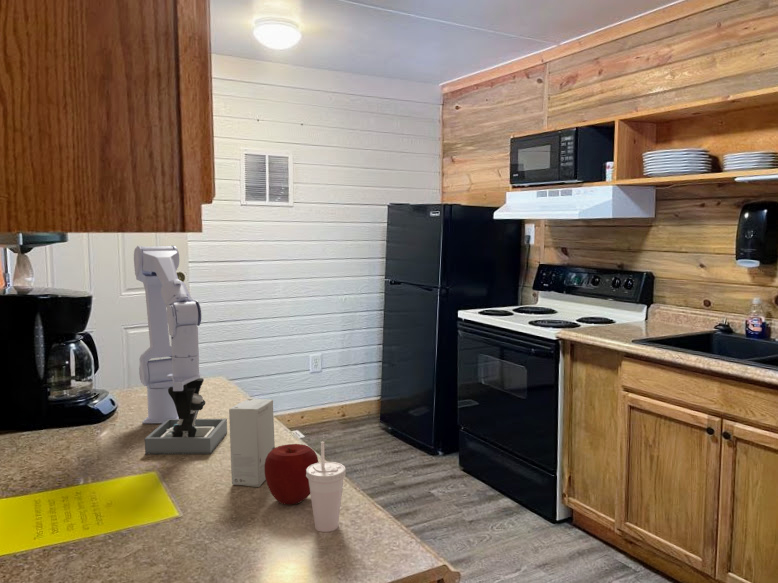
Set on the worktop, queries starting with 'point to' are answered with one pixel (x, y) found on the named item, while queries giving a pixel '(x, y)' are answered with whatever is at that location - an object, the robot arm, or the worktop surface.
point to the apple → (289, 472)
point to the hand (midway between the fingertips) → (187, 414)
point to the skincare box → (250, 440)
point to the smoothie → (326, 492)
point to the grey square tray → (186, 438)
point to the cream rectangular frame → (200, 431)
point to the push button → (187, 425)
